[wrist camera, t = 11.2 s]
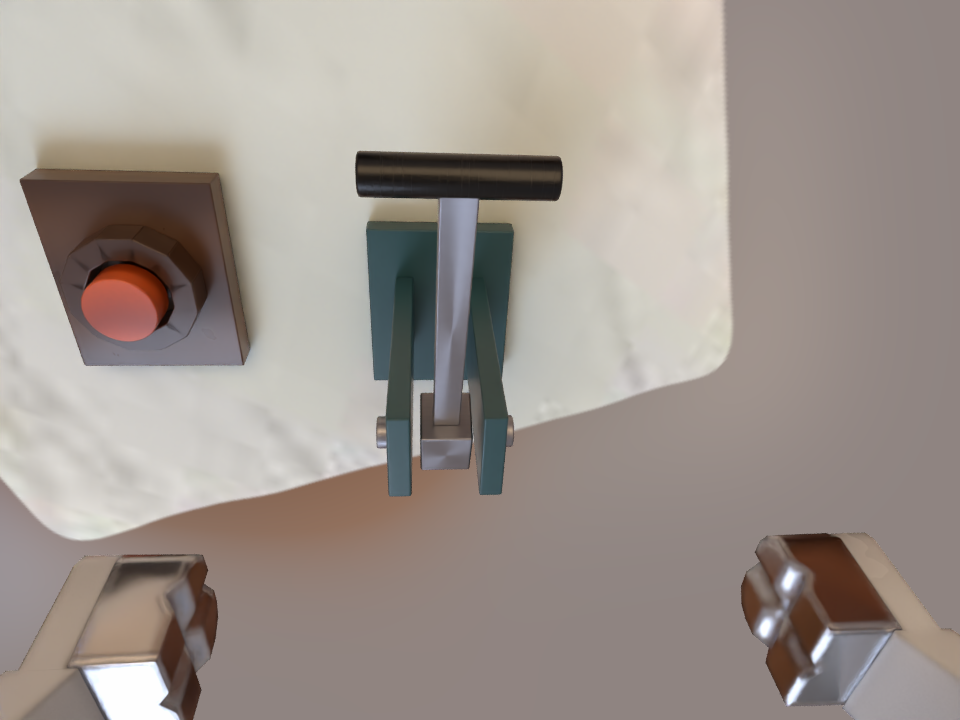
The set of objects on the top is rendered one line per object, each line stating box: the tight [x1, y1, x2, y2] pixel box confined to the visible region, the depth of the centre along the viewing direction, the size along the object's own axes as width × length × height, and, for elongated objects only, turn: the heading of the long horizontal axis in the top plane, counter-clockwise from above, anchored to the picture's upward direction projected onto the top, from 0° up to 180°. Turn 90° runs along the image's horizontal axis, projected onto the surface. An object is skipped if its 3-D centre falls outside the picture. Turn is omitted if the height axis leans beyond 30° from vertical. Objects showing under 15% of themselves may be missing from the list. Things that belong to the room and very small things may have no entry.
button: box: [81, 264, 169, 341], centre depth 33 cm, size 4×4×2 cm
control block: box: [20, 169, 250, 366], centre depth 35 cm, size 11×9×4 cm
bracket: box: [366, 221, 514, 496], centre depth 33 cm, size 10×8×14 cm
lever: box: [355, 151, 563, 470], centre depth 24 cm, size 16×6×2 cm, turn 175°
